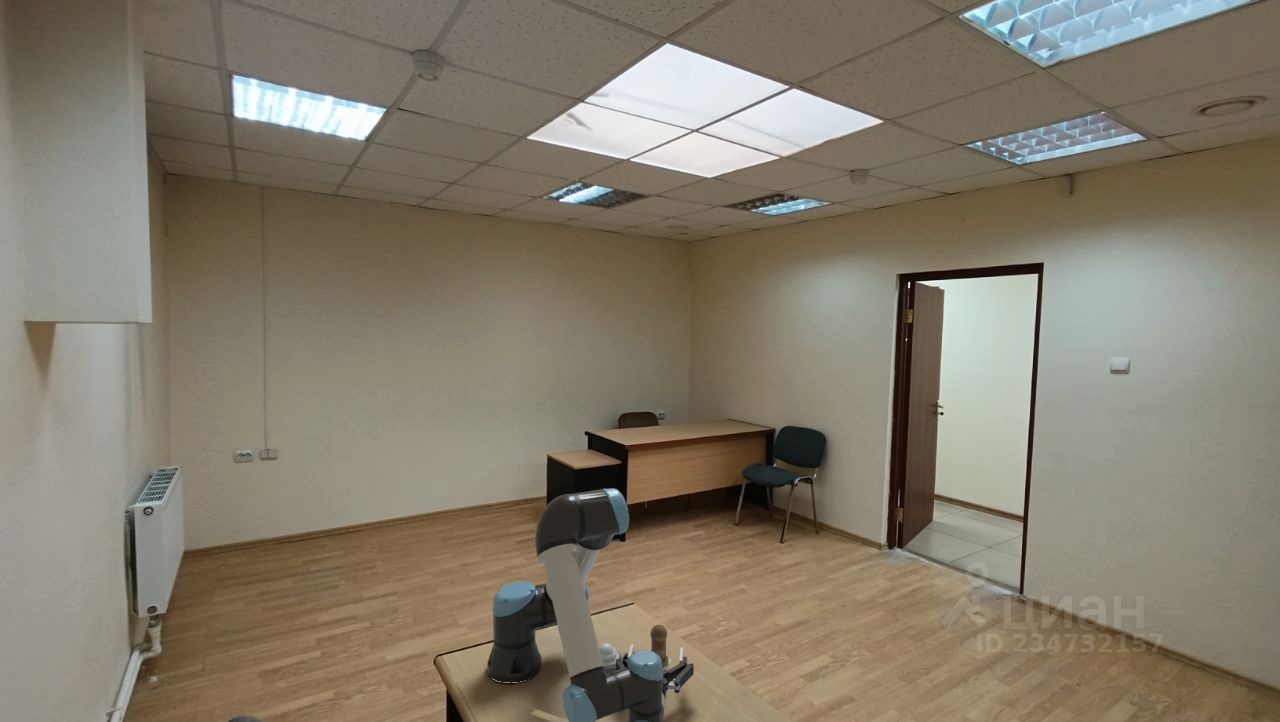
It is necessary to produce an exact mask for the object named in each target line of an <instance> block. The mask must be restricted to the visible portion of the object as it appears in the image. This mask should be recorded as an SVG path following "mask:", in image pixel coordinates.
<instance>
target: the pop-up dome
mask: <svg viewBox="0 0 1280 722" xmlns="http://www.w3.org/2000/svg"><path fill="white" fill-rule="evenodd" d="M599 650H600V654H601V658H602V662H603V666H604V668H607V667H612V666H616V659H619V654H618V653H619V652H618V653H617V648H615V647H614V646H613V645H611V644H610V643H607V642H605V643H602V644H601V646H600V647H599Z"/></svg>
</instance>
